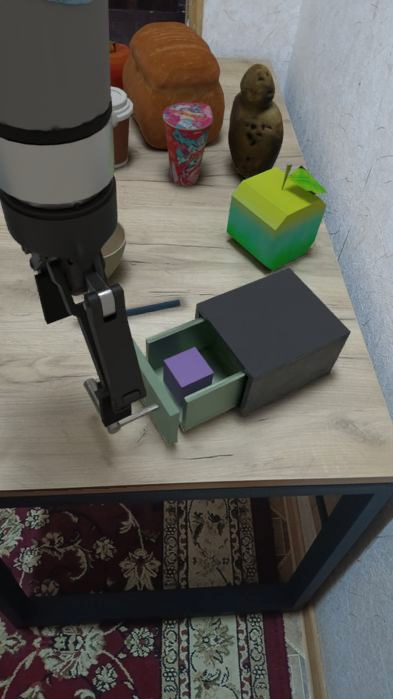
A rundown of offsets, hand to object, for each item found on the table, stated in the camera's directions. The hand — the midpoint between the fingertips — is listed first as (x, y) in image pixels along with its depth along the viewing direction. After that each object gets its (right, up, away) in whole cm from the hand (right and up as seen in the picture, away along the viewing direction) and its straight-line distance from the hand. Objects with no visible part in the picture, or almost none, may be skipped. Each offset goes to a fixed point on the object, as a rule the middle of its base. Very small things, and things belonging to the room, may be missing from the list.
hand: (85, 364), depth 48 cm
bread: (+6, +49, +56) cm, 75 cm away
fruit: (-7, +61, +64) cm, 89 cm away
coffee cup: (-5, +38, +46) cm, 60 cm away
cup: (+9, +34, +44) cm, 57 cm away
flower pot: (-5, +13, +28) cm, 31 cm away
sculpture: (+21, +35, +46) cm, 61 cm away
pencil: (+1, +6, +23) cm, 24 cm away
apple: (+23, +19, +34) cm, 45 cm away
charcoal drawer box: (+20, 0, +19) cm, 28 cm away
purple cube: (+10, -3, +13) cm, 17 cm away
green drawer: (+8, -5, +14) cm, 16 cm away
